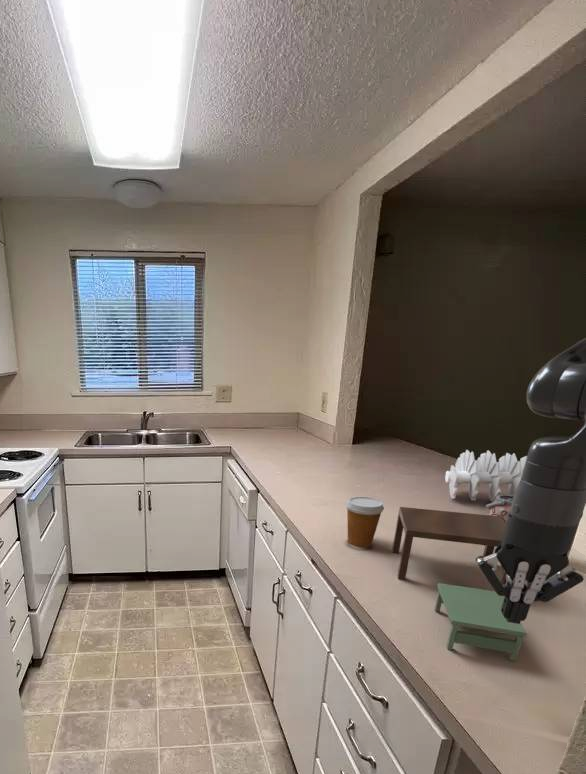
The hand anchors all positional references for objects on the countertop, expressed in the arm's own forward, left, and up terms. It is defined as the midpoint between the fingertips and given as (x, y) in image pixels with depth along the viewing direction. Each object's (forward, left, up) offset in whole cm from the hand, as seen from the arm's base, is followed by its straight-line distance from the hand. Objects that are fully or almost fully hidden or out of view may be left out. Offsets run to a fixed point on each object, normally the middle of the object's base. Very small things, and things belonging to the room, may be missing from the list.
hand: (511, 619), depth 66 cm
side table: (0, -40, -12) cm, 42 cm away
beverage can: (-18, -66, -12) cm, 69 cm away
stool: (0, -14, -12) cm, 18 cm away
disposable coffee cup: (+19, -51, -12) cm, 56 cm away
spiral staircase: (-22, -100, -12) cm, 103 cm away
